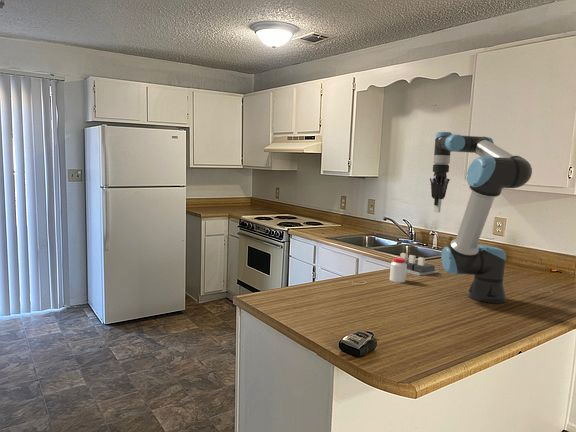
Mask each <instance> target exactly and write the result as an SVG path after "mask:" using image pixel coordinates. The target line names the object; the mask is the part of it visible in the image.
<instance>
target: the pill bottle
mask: <svg viewBox="0 0 576 432" xmlns="http://www.w3.org/2000/svg"><path fill="white" fill-rule="evenodd" d="M389 270H390V271H389V281H390V282H394V283H398V284H399V283H400V284H401V283H406V280H407V272H406V270H407V264H406V263H405V259H404V258H400V257H393V260H392V261H391V262H390V269H389Z"/></svg>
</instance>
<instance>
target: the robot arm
mask: <svg viewBox="0 0 576 432" xmlns="http://www.w3.org/2000/svg"><path fill="white" fill-rule="evenodd" d="M433 151H434V153H433V164H432V172H433V173H434V174H433V176H432V177H430V178H429V181H430V190H431V191H430V192H431V198H432V199H434V200H433V213H441V207H442V200H444V198H445V197H446V194H447V190H448V185H449V183H450V180H451V179H450V178H448V176H447V173H449V172H450V165H449V164H450V162H451V153H452V152H458V153H472V154H473V153H474V154H475V155H477V156H478V157H476V158H474V160H473V161H471V162H470V164H469V166H468V168H467V172H466V181H467V184H468V185H469V190H471V193H470V196H469V199H468V202H467V204H466V207H465V210H464V214H463V217H462V220H461V223H460V226H459V229H458V231H457V234H456V238H455V239H454V238H453V239H452V240H451V241H450V244H449V246H444V247H443V248H442V250H441V254H440V255H441V257H440V258H441V264H442V267H443V270H444V272H446V273H447V274H451V275H473V276H474V277H473V280H472V282H471V284H470V286H469V289H468V292H467V297H469V298H470V299H472V300H474V301H478V302H481V301H483V303H487V302H488V303H487V304H504V303H506V301H507V300H506V299H507V295H506V291H505V286H504V276H505V269H506V261H507V253H506V250H504V249H503V248H500V247H495V246H492V245H487V244H479V241H480V238H481V236H482V232H483V230H484V227H485V223H486V222H487V220H488V217H489V213H490V211H491V208H492V205H493V203H494V200H495V198H497V197H499V196H500V195H501V193H502V190H503V189H517V188H520V187H523V186H524V185H526V184H527V183H528V182H529V181H530V179H531V178H532V174H533V168H532V164H531V163H530V162H529V161H528V160H527V159H526V158H524V157H522V156H520V155H513V154H512V153H510V152H508V151H506V150H505V149H503V148H501V146H498V145H496V144H495V143H494V140H493V138H492V137H489V136H472V135H460V134H453V133H452V132H450V131H438V132H436V133H435V139H434V150H433ZM503 302H504V303H503Z"/></svg>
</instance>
